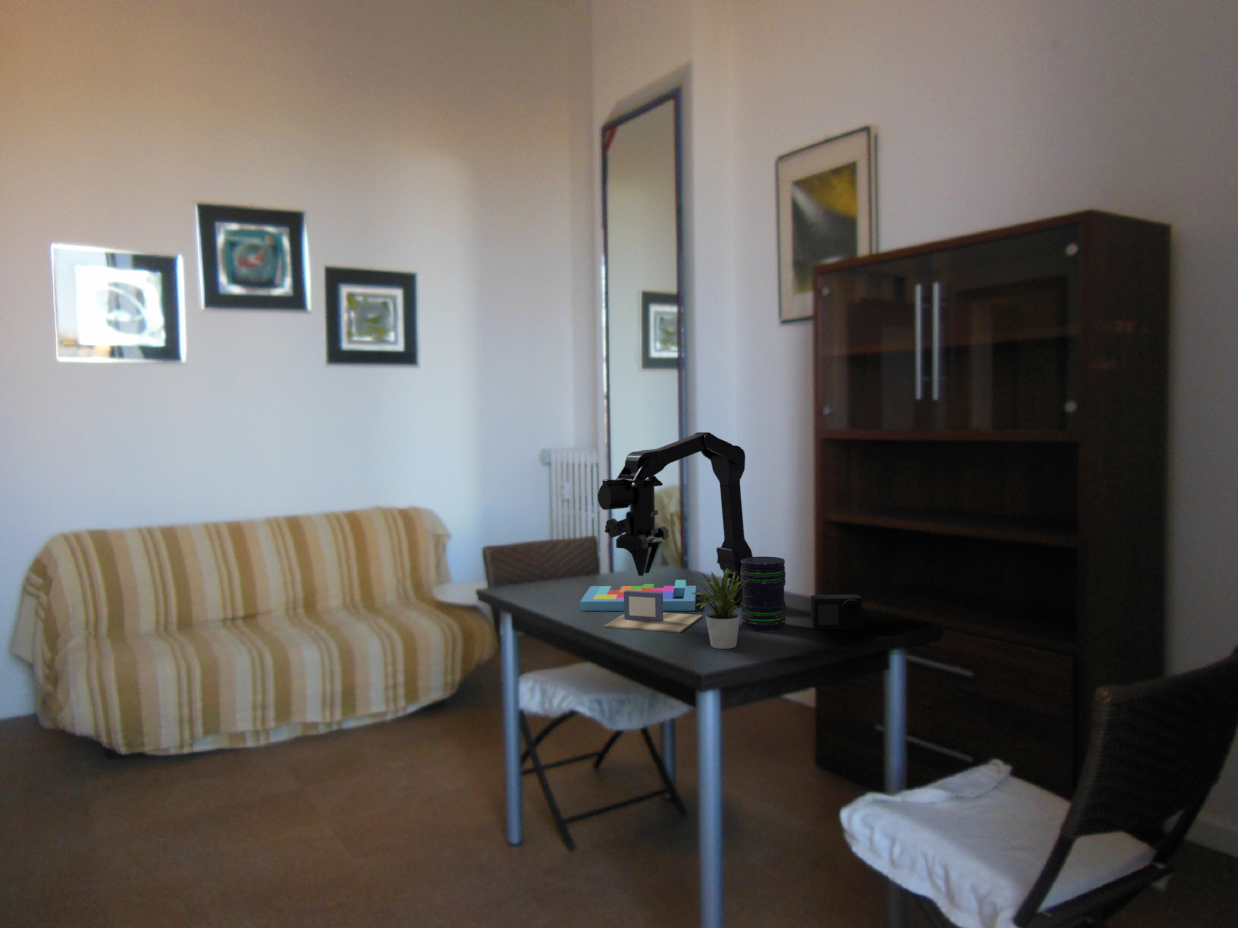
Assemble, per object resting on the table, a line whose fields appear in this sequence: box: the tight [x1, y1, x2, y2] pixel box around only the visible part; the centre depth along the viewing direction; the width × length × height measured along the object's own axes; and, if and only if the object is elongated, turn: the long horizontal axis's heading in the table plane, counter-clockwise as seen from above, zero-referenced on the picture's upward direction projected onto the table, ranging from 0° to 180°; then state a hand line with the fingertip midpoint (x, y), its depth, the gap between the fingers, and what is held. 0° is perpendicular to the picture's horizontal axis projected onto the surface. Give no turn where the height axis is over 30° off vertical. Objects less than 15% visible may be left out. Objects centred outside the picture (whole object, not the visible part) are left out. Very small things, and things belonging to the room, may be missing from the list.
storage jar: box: [740, 556, 787, 633], centre depth 198 cm, size 10×10×15 cm
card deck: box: [623, 590, 664, 622], centre depth 206 cm, size 9×2×6 cm, turn 68°
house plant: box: [685, 568, 752, 650], centre depth 184 cm, size 14×14×16 cm
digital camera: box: [810, 593, 864, 630], centre depth 195 cm, size 10×5×7 cm, turn 90°
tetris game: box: [579, 579, 697, 612], centre depth 232 cm, size 28×3×28 cm
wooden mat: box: [603, 612, 703, 633], centre depth 206 cm, size 18×16×1 cm
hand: (643, 574), depth 205 cm, fingers open, 3 cm apart
